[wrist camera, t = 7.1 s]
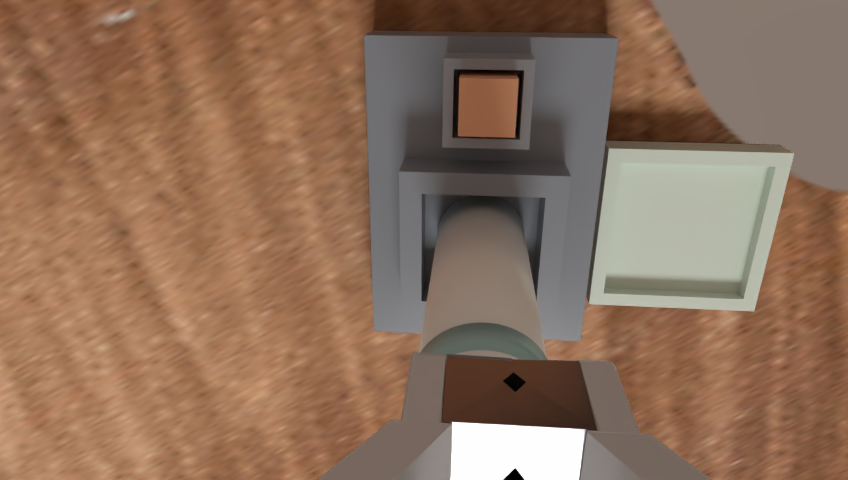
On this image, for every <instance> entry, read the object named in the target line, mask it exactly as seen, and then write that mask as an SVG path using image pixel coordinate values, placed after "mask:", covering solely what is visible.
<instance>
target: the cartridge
mask: <svg viewBox="0 0 848 480" xmlns="http://www.w3.org/2000/svg"><path fill="white" fill-rule="evenodd" d="M419 352H422V353H445V355H446V359H447V354H458V355H473V356H488V357H503V358H512V359H529V360H548V359H547V357H546V352H545V346H544V340H543V335H542V329H541V324H540V318H539V312H538V307H537V301H536V296H535V290H534V284H533V279H532V273H531V268H530V262H529V256H528V251H527V245H526V240H525V234H524V228H523V224H522V221H521V218H520V216H519V214H518V213H517V211H516V210H515V209H514V208H513V207H512V206H511V205H510V204H509V203H508V202H506V201H505V200H503V199H501V198H499V197H497V196H474V195H468V196H465V197H463V198H461V199H459V200H457V201H455V202H454V203H453V204H452V205H450V206H449V207H448V208H447V210H446V211H445V212H444V214H443V216H442V218H441V220H440V223H439V227H438V233H437V240H436V246H435V252H434V259H433V265H432V271H431V278H430V284H429V290H428V297H427V303H426V309H425V315H424V322H423V328H422V334H421V341H420V347H419Z"/></svg>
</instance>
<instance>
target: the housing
mask: <svg viewBox="0 0 848 480" xmlns="http://www.w3.org/2000/svg"><path fill="white" fill-rule="evenodd" d="M618 40H619V38H617V37H615V36H612V35H610V34H608V33H548V32H462V31H375V30H373V31H371V32H369V33H367V34H366V35H364V48H365V78H366V108H367V138H368V168H369V198H370V228H371V258H372V288H373V318H374V331H379V332H400V333H420V334H422V328H423V322H424V315H425V309H426V303H427V297H428V290H429V284H430V278H431V271H432V265H433V259H434V252H435V246H436V240H437V233H438V227H439V223H440V220H441V218H442V216H443V214H444V212H445V211H446V210H447V208H448V207H449V206H450V205H452V204H453V203H454V202H455V201H457V200H459V199H461V198H463V197H465V196H468V195H474V196H497V197H499V198H501V199H503V200H505V201H506V202H508V203H509V204H510V205H511V206H512V207H513V208H514V209H515V210H516V211H517V213H518V214H519V216H520V218H521V221H522V224H523V228H524V234H525V240H526V245H527V251H528V256H529V262H530V268H531V273H532V279H533V284H534V290H535V296H536V301H537V307H538V312H539V318H540V324H541V329H542V335H543V339H545V340H565V341H581V333H582V325H583V317H584V309H585V301H586V293H587V285H588V277H589V269H590V261H591V254H592V246H593V238H594V230H595V222H596V214H597V206H598V198H599V190H600V182H601V174H602V166H603V158H604V151H605V143H606V135H607V127H608V119H609V111H610V103H611V95H612V87H613V79H614V71H615V63H616V55H617V48H618ZM461 69H471V70H515V71H516V73H517V76H518V78H519V84H518V99H517V114H516V129H515V138H510V137H468V136H458V110H459V77H460V72H461Z"/></svg>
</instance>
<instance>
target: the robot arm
mask: <svg viewBox="0 0 848 480" xmlns="http://www.w3.org/2000/svg"><path fill="white" fill-rule="evenodd" d="M318 480H711V479H709V478H708V477H707V476H705V475H704V474H703V473H702V472H700V471H699V470H698V469H696V468H695V467H694V466H692V465H691V464H690V463H688V462H687V461H686V460H684V459H683V458H682V457H680V456H679V455H678V454H676V453H675V452H674V451H672V450H671V449H670V448H668V447H667V446H666V445H664V444H663V443H662V442H660V441H659V440H658V439H656V438H655V437H654V436H652V435H651V434H640V432H639V429H638V426H637V424H636V421H635V418H634V415H633V413H632V410H631V407H630V405H629V402H628V399H627V397H626V394H625V391H624V388H623V386H622V383H621V380H620V378H619V375H618V372H617V370H616V367H615V364H614V363H612V362H611V361H589V360H577V361H563V360H529V359H512V358H503V357H488V356H473V355H458V354H447V359H446V355H445V353H422V352H414V353H413V355H412V356H411V362H410V368H409V374H408V380H407V386H406V392H405V398H404V404H403V410H402V416H401V420H390V421H389V422H388V423H387V424H386V425H384V426H383V427H382V428H381V429H379V430H378V431H377V432H376V433H374V434H373V435H372V436H371V437H370V438H368V439H367V440H366V441H365V442H363V443H362V444H361V445H360V446H358V447H357V448H356V449H355V450H353V451H352V452H351V453H350V454H349V455H347V456H346V457H345V458H344V459H342V460H341V461H340V462H339V463H337V464H336V465H335V466H334V467H333V468H331V469H330V470H329V471H328V472H326V473H325V474H324V475H323V476H321V477H320V478H319V479H318Z"/></svg>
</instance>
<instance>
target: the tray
mask: <svg viewBox="0 0 848 480" xmlns="http://www.w3.org/2000/svg"><path fill="white" fill-rule="evenodd" d="M793 157H794V153H793V152H791V151H790V150H788V149H786V148H784V147H782V146H781V145H765V144H725V143H684V142H643V141H606V143H605V151H604V158H603V166H602V174H601V182H600V190H599V198H598V206H597V214H596V222H595V230H594V238H593V246H592V254H591V261H590V269H589V277H588V285H587V293H586V297H587V300H588V303H589V304H599V305H622V306H645V307H668V308H691V309H713V310H736V311H754V310H755V306H756V302H757V298H758V294H759V290H760V286H761V282H762V278H763V274H764V270H765V266H766V263H767V259H768V255H769V251H770V247H771V243H772V239H773V235H774V231H775V227H776V223H777V219H778V215H779V212H780V208H781V204H782V200H783V196H784V192H785V188H786V184H787V180H788V176H789V172H790V168H791V164H792V160H793Z"/></svg>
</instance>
